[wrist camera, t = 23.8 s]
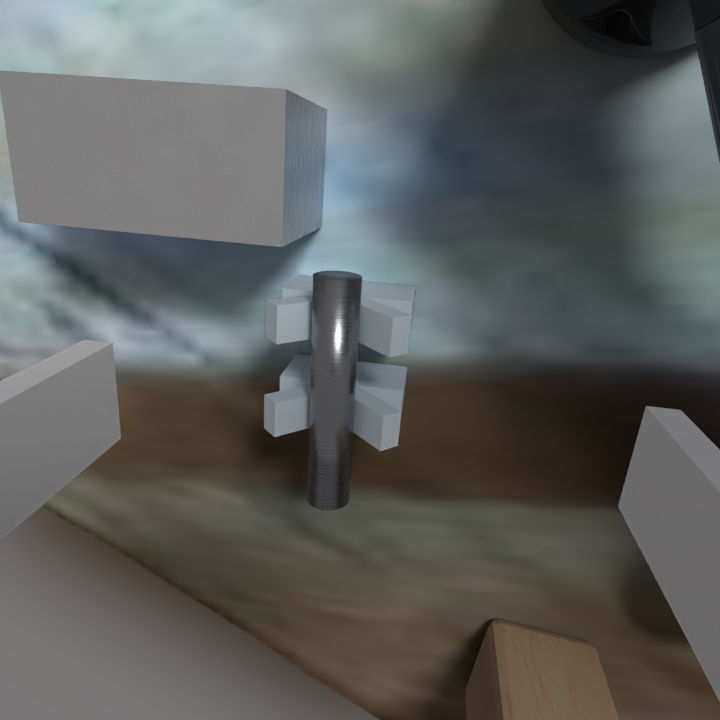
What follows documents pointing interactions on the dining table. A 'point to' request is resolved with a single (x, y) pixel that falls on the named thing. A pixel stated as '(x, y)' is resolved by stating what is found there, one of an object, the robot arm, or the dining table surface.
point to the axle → (332, 386)
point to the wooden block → (536, 677)
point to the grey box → (165, 157)
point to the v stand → (373, 380)
